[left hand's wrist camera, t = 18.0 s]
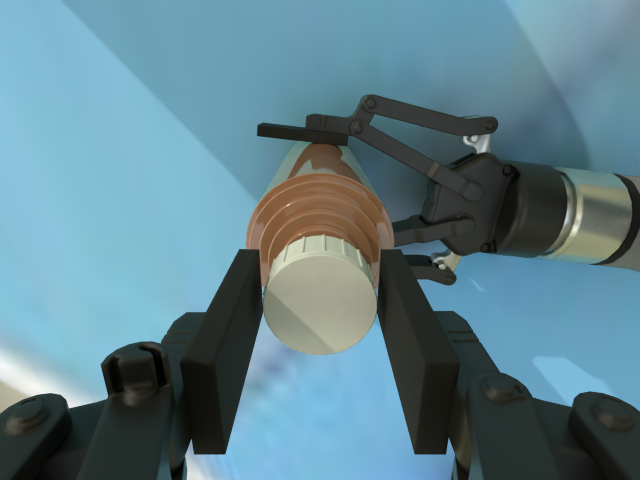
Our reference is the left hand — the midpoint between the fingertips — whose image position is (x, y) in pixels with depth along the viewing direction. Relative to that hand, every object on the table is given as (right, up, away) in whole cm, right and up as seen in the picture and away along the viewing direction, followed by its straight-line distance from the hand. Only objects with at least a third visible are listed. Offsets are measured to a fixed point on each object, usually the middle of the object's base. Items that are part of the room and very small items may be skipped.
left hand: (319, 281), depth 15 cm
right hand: (-5, +6, +15) cm, 17 cm away
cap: (0, -1, -2) cm, 2 cm away
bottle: (0, +8, +21) cm, 22 cm away
